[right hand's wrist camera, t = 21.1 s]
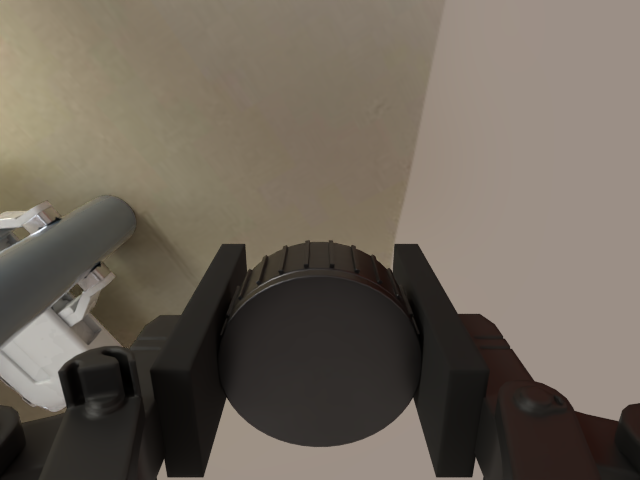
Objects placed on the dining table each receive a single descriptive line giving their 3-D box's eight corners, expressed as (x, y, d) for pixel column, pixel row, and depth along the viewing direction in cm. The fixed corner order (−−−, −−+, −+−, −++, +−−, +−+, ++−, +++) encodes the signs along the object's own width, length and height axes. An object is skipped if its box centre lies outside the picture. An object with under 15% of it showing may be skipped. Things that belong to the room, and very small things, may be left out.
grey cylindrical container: (92, 244, 39) (-113, 400, 21) (79, 196, 38) (-155, 318, 19) (141, 241, 39) (-21, 395, 20) (130, 193, 37) (-56, 312, 19)
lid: (445, 327, 12) (468, 375, 10) (313, 420, 14) (312, 480, 12) (327, 199, 11) (329, 227, 9) (193, 315, 12) (168, 362, 10)
